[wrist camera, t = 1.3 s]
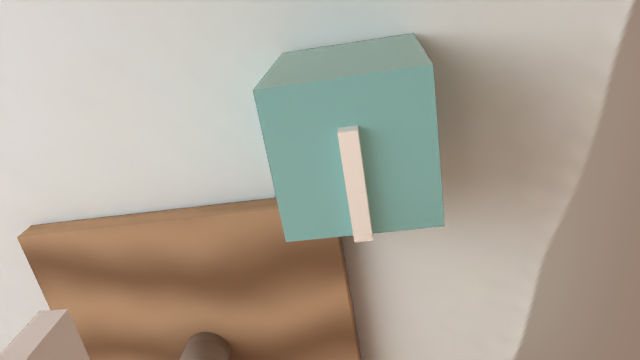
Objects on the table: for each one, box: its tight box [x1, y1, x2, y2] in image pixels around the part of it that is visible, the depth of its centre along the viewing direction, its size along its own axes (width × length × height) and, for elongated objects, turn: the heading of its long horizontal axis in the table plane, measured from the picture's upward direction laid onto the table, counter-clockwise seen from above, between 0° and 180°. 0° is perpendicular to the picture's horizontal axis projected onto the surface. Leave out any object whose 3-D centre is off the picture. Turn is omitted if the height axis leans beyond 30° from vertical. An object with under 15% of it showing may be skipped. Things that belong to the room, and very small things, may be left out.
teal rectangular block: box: [253, 33, 445, 242], centre depth 24 cm, size 7×7×9 cm
